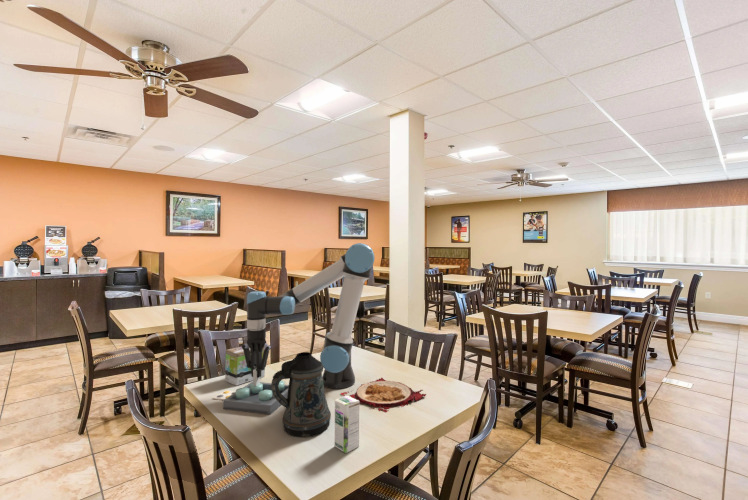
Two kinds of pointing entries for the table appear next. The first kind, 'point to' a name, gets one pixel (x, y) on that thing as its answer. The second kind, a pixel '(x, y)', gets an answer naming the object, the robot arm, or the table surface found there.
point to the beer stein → (303, 396)
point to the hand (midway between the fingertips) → (256, 384)
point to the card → (224, 395)
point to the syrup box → (346, 424)
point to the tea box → (238, 367)
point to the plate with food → (385, 394)
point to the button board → (254, 401)
